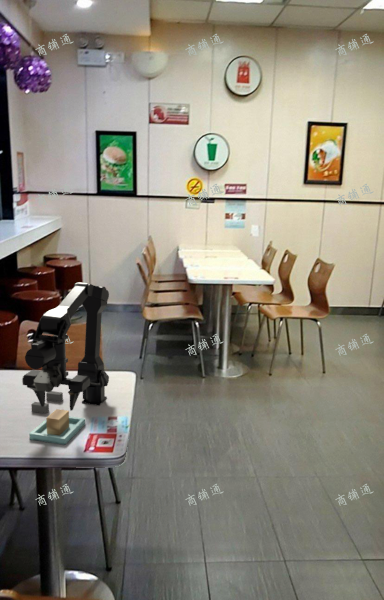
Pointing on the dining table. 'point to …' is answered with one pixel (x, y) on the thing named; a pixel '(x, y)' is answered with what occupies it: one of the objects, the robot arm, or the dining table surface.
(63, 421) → the wooden block
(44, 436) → the teal tray
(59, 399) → the pair of grey blocks
